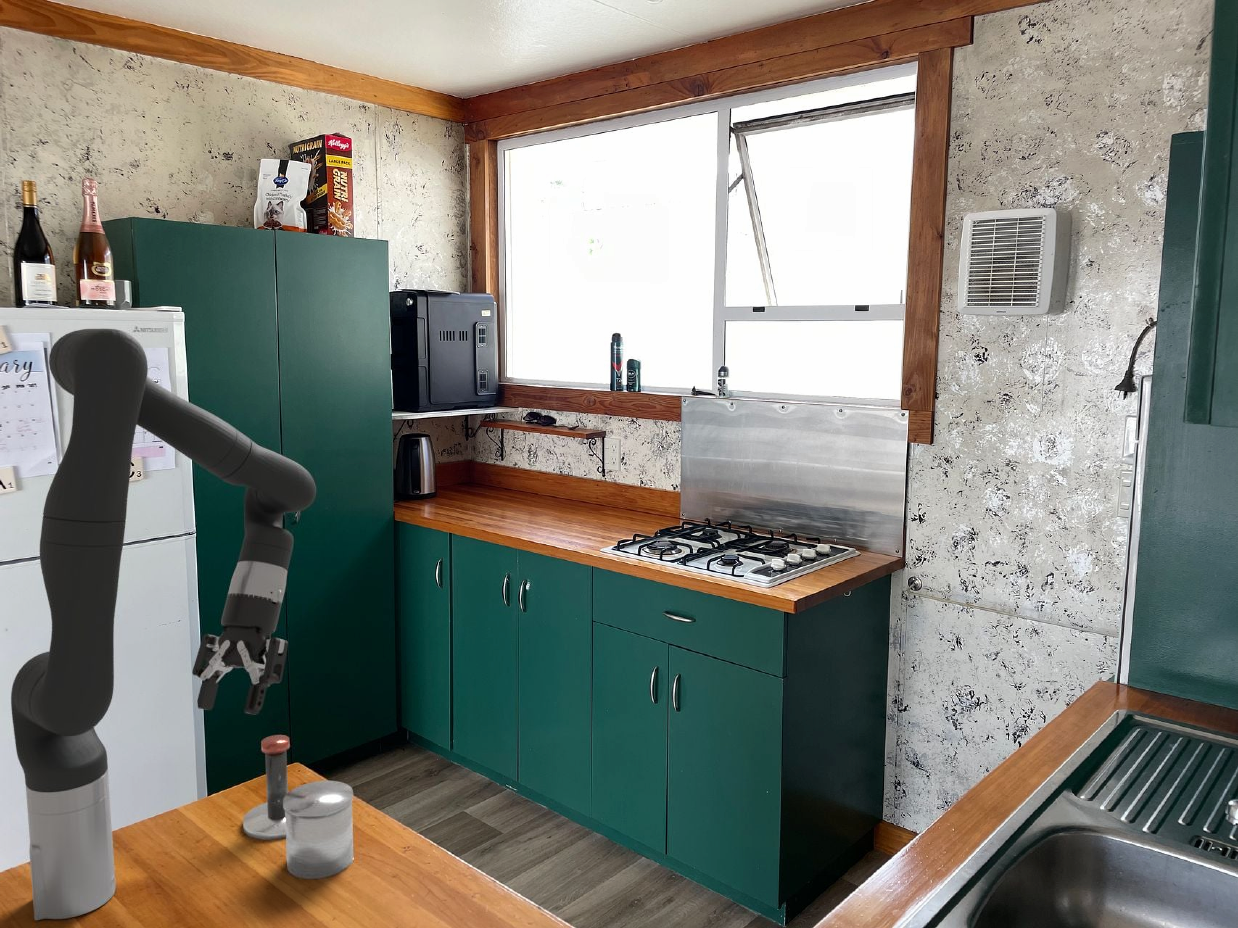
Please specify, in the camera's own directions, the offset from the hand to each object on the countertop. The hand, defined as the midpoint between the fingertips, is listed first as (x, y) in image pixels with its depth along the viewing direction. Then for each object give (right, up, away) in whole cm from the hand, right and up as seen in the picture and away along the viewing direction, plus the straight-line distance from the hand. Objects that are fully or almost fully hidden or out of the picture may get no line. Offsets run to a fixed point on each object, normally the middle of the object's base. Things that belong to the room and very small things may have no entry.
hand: (227, 711), depth 130 cm
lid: (+2, -20, +13) cm, 24 cm away
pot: (+12, -22, +3) cm, 25 cm away
